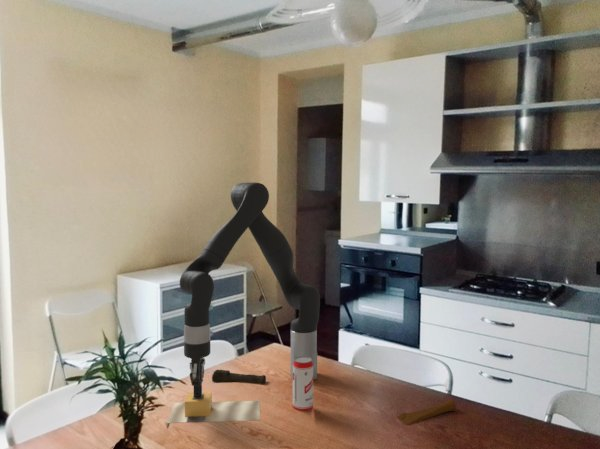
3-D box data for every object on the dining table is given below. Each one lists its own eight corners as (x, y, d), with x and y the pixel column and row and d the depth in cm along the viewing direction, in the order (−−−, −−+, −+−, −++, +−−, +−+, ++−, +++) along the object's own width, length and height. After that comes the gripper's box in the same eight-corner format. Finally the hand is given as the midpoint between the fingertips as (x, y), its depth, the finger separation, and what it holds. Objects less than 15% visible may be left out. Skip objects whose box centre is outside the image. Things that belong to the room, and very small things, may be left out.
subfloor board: (260, 405, 147) (260, 400, 147) (259, 425, 135) (259, 420, 135) (175, 407, 145) (174, 402, 145) (166, 427, 133) (166, 422, 133)
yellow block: (211, 406, 142) (211, 391, 142) (209, 415, 137) (209, 400, 137) (188, 407, 142) (187, 392, 142) (184, 416, 136) (184, 401, 136)
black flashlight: (267, 384, 162) (266, 371, 162) (263, 389, 158) (263, 376, 158) (215, 379, 167) (215, 366, 166) (210, 384, 163) (210, 370, 162)
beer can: (316, 408, 145) (316, 357, 144) (308, 417, 139) (308, 364, 138) (297, 404, 148) (298, 354, 146) (289, 412, 142) (289, 361, 141)
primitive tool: (406, 426, 135) (406, 414, 135) (395, 418, 140) (395, 406, 140) (458, 413, 143) (458, 402, 143) (445, 405, 148) (445, 394, 148)
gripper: (207, 346, 131) (207, 406, 133) (212, 331, 144) (213, 386, 146) (179, 346, 131) (180, 407, 132) (188, 331, 144) (188, 386, 145)
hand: (197, 396), depth 139 cm, fingers closed
